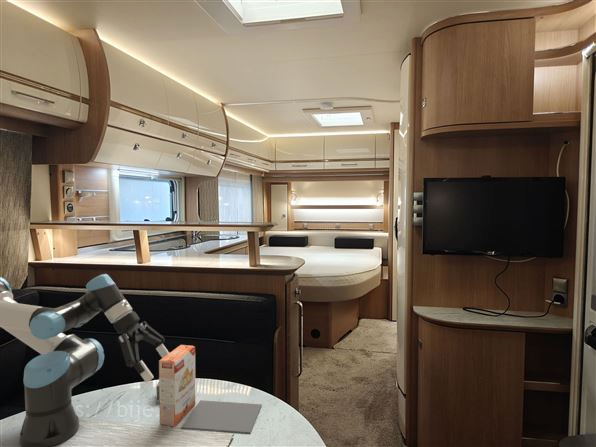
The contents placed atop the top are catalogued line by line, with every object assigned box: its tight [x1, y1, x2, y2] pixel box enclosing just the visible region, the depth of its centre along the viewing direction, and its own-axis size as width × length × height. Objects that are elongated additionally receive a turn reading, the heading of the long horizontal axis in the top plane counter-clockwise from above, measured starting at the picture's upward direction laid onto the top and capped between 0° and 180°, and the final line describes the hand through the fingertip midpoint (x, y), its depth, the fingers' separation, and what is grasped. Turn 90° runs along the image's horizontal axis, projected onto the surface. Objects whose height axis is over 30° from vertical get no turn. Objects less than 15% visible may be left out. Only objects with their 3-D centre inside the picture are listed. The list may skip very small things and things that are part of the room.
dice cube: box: [155, 381, 159, 401], centre depth 139 cm, size 5×5×5 cm
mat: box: [180, 399, 263, 434], centre depth 126 cm, size 22×16×1 cm
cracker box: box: [158, 344, 196, 427], centre depth 127 cm, size 14×6×21 cm, turn 168°
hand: (160, 370), depth 125 cm, fingers open, 13 cm apart
